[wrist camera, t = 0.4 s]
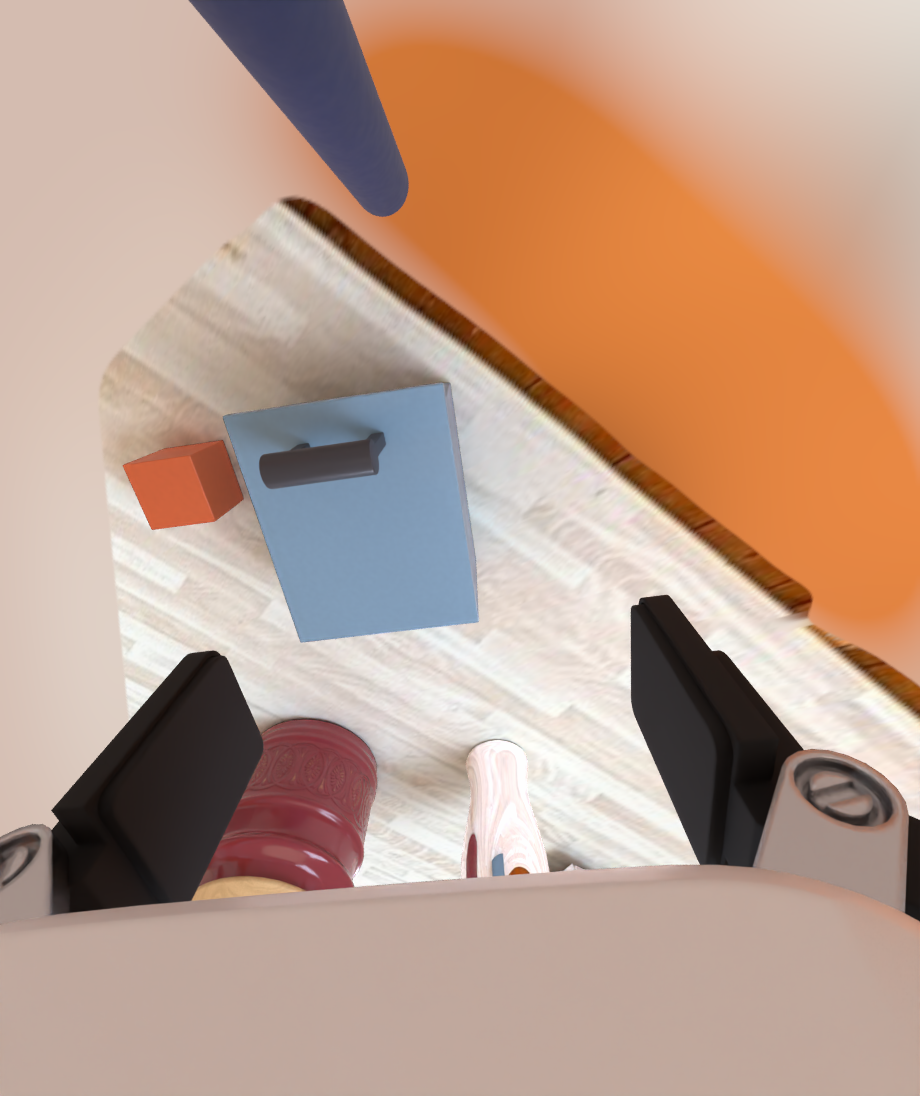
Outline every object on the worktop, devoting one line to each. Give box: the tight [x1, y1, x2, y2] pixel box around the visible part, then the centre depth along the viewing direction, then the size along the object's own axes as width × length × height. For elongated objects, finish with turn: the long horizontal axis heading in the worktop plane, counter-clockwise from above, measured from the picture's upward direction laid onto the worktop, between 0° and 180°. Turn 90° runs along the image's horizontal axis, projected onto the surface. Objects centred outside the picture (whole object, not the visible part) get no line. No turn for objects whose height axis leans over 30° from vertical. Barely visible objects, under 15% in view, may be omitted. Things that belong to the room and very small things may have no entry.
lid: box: [223, 382, 479, 642], centre depth 25 cm, size 14×12×6 cm
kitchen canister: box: [192, 719, 377, 901], centre depth 39 cm, size 13×13×18 cm
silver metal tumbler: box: [461, 740, 550, 879], centre depth 40 cm, size 7×7×15 cm
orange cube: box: [123, 440, 243, 530], centre depth 33 cm, size 4×4×4 cm
